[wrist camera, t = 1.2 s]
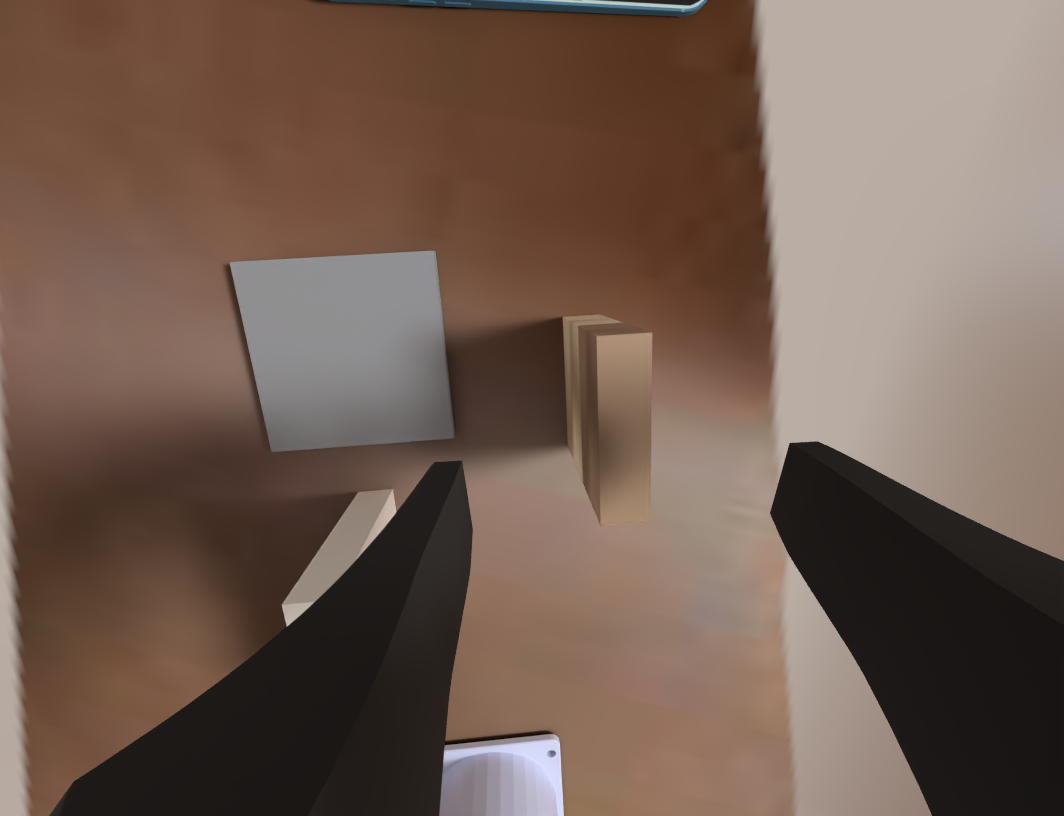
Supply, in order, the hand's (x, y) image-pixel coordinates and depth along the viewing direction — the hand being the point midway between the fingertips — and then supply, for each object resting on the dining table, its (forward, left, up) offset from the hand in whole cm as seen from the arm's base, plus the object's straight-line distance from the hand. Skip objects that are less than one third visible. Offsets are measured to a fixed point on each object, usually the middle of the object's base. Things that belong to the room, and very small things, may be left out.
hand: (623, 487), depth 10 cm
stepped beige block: (0, -1, -11) cm, 11 cm away
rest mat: (+2, +9, -11) cm, 14 cm away
